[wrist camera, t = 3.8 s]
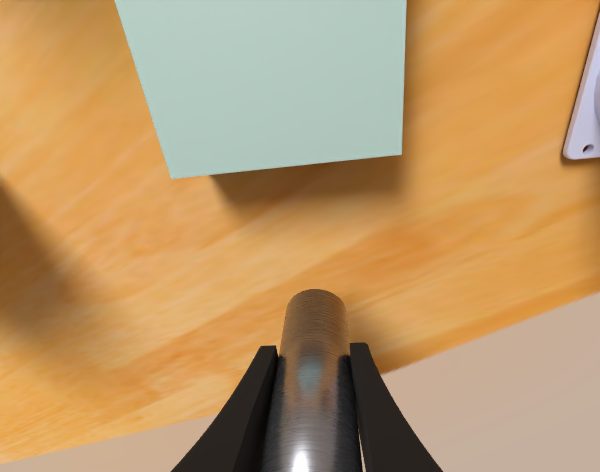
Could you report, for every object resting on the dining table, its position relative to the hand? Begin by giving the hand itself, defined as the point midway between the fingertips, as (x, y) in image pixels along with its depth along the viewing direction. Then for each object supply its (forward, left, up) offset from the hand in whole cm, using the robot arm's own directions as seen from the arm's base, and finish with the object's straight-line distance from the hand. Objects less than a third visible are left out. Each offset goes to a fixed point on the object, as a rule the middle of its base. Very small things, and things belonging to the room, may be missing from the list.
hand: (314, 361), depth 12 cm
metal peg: (0, 0, -3) cm, 3 cm away
